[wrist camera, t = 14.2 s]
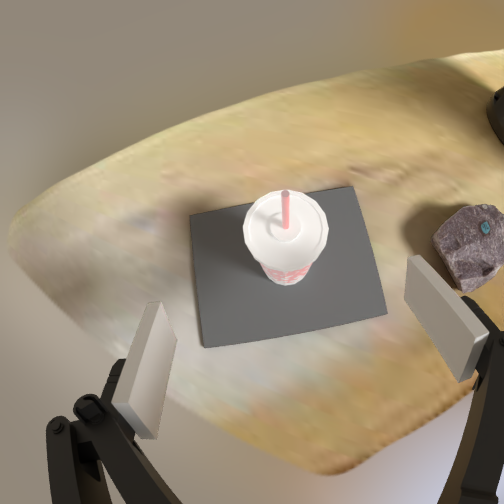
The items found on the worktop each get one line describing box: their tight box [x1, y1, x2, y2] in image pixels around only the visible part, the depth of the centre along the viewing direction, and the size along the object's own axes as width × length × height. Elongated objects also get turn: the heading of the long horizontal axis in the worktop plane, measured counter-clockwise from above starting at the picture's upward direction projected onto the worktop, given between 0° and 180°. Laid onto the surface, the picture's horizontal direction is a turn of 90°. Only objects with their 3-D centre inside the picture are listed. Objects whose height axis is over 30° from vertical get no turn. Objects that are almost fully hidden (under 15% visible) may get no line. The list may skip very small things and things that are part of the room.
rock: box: [431, 204, 504, 293], centre depth 27 cm, size 8×11×5 cm
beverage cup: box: [243, 190, 329, 286], centre depth 24 cm, size 6×6×14 cm
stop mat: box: [190, 186, 388, 348], centre depth 31 cm, size 18×14×1 cm
